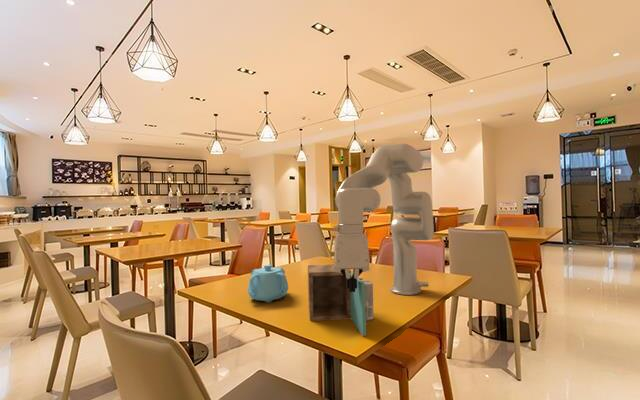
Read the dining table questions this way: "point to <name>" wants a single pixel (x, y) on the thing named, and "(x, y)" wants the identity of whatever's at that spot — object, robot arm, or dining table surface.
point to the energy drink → (369, 299)
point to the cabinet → (327, 294)
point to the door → (359, 306)
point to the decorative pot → (267, 284)
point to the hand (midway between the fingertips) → (351, 290)
